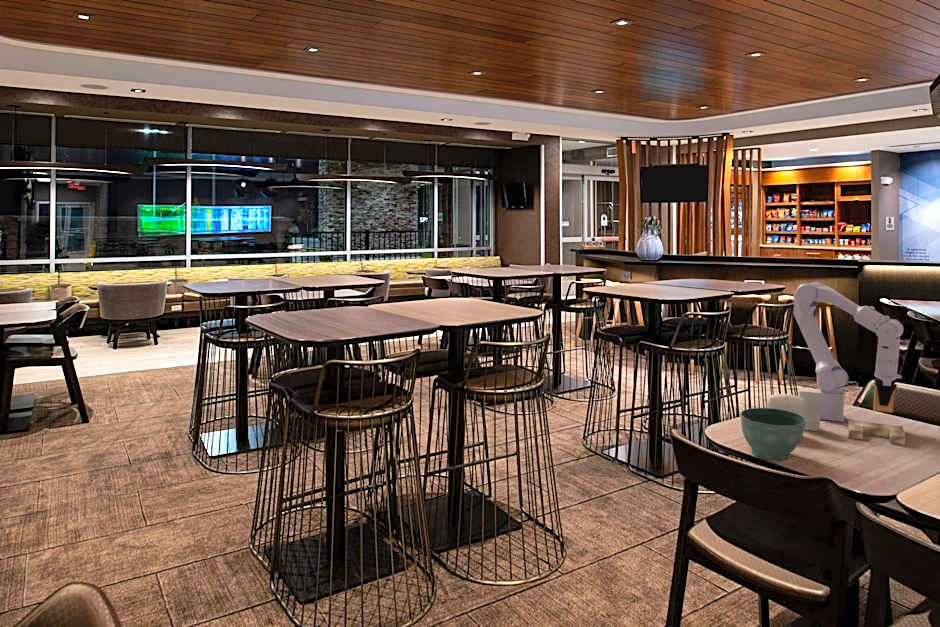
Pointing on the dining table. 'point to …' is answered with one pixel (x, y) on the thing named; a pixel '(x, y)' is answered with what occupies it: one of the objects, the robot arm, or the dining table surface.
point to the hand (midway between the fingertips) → (883, 404)
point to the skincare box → (811, 408)
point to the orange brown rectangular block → (879, 407)
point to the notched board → (876, 431)
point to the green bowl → (772, 431)
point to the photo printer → (786, 403)
